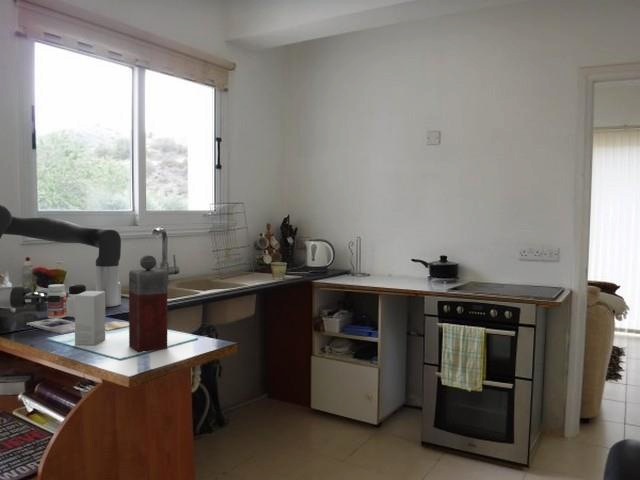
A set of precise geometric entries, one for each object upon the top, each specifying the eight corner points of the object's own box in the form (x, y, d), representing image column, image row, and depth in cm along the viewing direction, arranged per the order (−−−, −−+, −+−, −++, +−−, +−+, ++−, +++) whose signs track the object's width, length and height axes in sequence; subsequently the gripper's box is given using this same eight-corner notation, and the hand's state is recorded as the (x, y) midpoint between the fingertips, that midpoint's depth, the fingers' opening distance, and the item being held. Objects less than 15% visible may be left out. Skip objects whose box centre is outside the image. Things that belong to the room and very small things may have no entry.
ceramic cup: (282, 280, 316) (282, 264, 315) (267, 279, 319) (267, 263, 319) (291, 278, 328) (291, 262, 327) (276, 277, 331) (277, 261, 331)
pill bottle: (67, 317, 183) (67, 285, 183) (48, 319, 180) (47, 287, 179) (65, 314, 189) (64, 283, 188) (46, 316, 185) (45, 284, 184)
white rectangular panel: (56, 320, 194) (56, 317, 194) (92, 328, 182) (92, 325, 182) (26, 325, 185) (26, 322, 185) (61, 333, 173) (61, 331, 172)
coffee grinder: (155, 340, 166) (155, 253, 165) (167, 348, 157) (167, 255, 155) (126, 344, 161) (126, 254, 159) (137, 352, 152) (137, 257, 150)
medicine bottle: (91, 314, 205) (91, 284, 204) (76, 318, 198) (76, 286, 197) (78, 313, 208) (78, 283, 207) (63, 316, 201) (62, 285, 200)
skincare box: (86, 338, 167) (86, 290, 166) (107, 339, 167) (106, 290, 166) (73, 345, 159) (73, 294, 158) (95, 345, 159) (94, 295, 158)
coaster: (114, 322, 192) (114, 321, 192) (132, 325, 186) (132, 324, 186) (90, 327, 183) (89, 325, 183) (107, 331, 178) (107, 329, 178)
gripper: (3, 290, 175) (56, 289, 177) (22, 283, 189) (71, 283, 191) (4, 312, 175) (56, 311, 177) (23, 304, 190) (71, 303, 192)
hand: (63, 297), depth 184 cm, fingers closed on pill bottle, 6 cm apart
